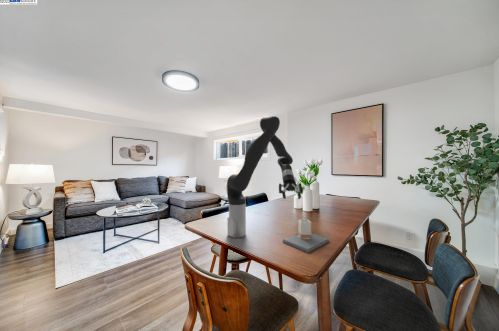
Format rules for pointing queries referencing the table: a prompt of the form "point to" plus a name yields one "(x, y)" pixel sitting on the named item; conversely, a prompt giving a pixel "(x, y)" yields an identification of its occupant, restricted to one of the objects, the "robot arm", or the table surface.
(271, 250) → the table surface
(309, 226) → the sleeve
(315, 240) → the pin board
